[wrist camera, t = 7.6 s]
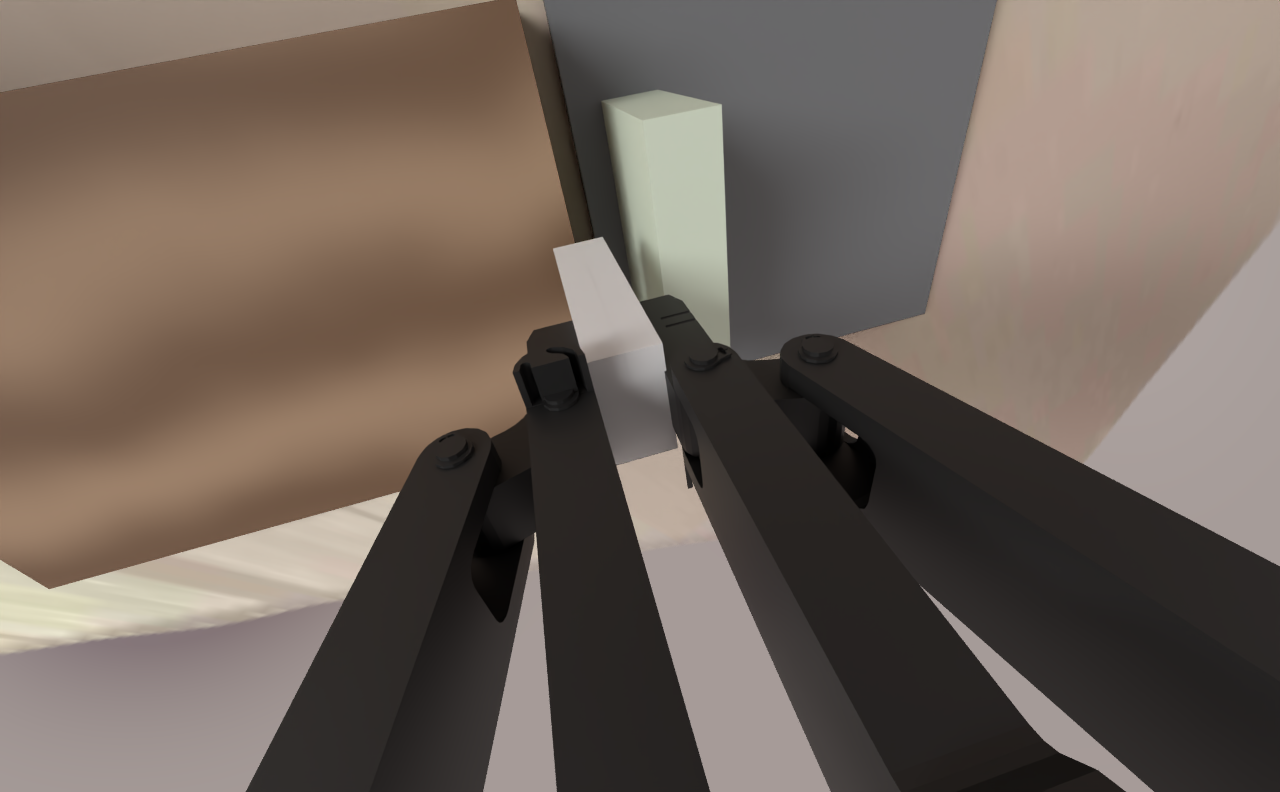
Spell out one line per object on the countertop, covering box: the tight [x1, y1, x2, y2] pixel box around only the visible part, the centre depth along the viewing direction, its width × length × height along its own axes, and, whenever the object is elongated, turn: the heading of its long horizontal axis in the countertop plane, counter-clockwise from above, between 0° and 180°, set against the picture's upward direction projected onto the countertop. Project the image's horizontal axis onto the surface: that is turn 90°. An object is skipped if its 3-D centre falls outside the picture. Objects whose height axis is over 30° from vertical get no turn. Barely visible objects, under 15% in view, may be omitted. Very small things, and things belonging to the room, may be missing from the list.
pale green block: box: [601, 90, 730, 347], centre depth 17 cm, size 9×6×2 cm
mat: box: [543, 0, 997, 360], centre depth 20 cm, size 16×16×1 cm
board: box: [0, 0, 575, 589], centre depth 16 cm, size 14×22×4 cm, turn 99°
